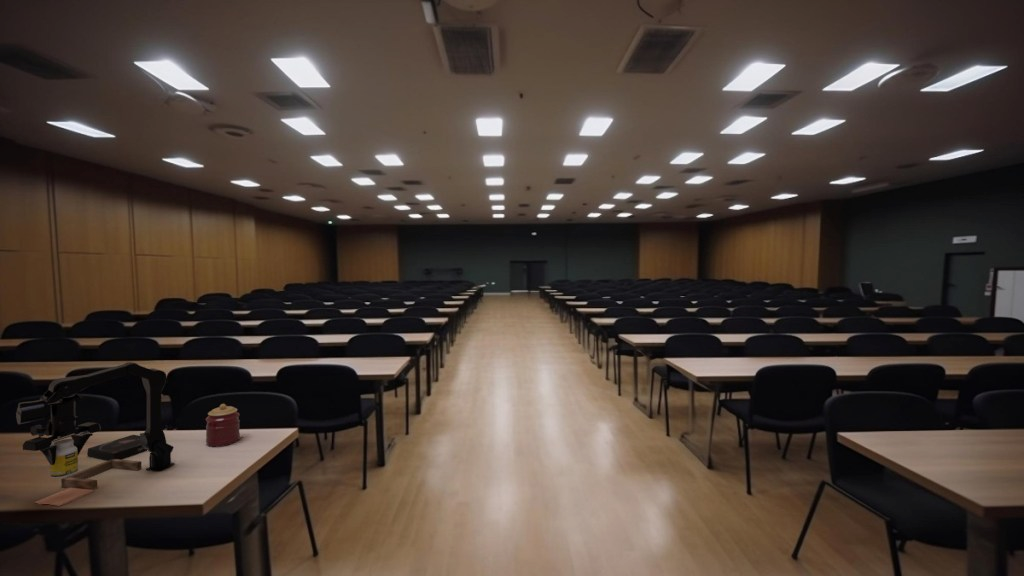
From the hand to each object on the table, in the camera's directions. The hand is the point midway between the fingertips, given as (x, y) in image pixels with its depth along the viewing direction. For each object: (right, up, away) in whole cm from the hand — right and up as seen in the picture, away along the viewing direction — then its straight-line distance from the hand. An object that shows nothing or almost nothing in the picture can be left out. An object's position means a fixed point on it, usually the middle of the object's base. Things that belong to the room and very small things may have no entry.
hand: (64, 460), depth 145 cm
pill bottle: (0, -5, 0) cm, 5 cm away
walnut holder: (0, -13, +14) cm, 19 cm away
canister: (+21, -12, +50) cm, 55 cm away
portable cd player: (-14, -12, +38) cm, 42 cm away
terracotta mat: (0, -13, 0) cm, 13 cm away
